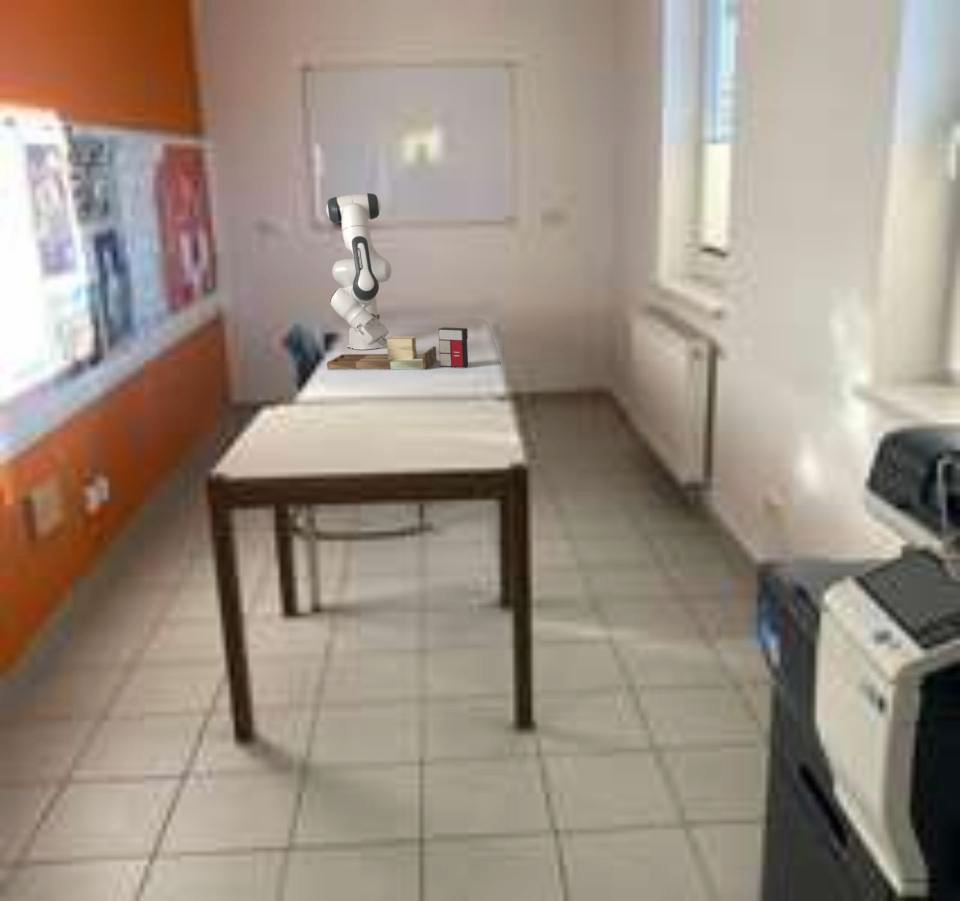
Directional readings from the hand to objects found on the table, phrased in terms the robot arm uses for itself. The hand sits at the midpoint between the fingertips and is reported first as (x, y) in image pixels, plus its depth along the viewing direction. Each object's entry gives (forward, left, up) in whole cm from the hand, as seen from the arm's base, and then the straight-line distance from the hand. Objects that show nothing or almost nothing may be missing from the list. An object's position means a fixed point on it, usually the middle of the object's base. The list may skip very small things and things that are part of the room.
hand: (388, 347), depth 393 cm
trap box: (0, -3, -7) cm, 8 cm away
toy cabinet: (+3, +27, -8) cm, 28 cm away
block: (0, +6, -4) cm, 7 cm away
